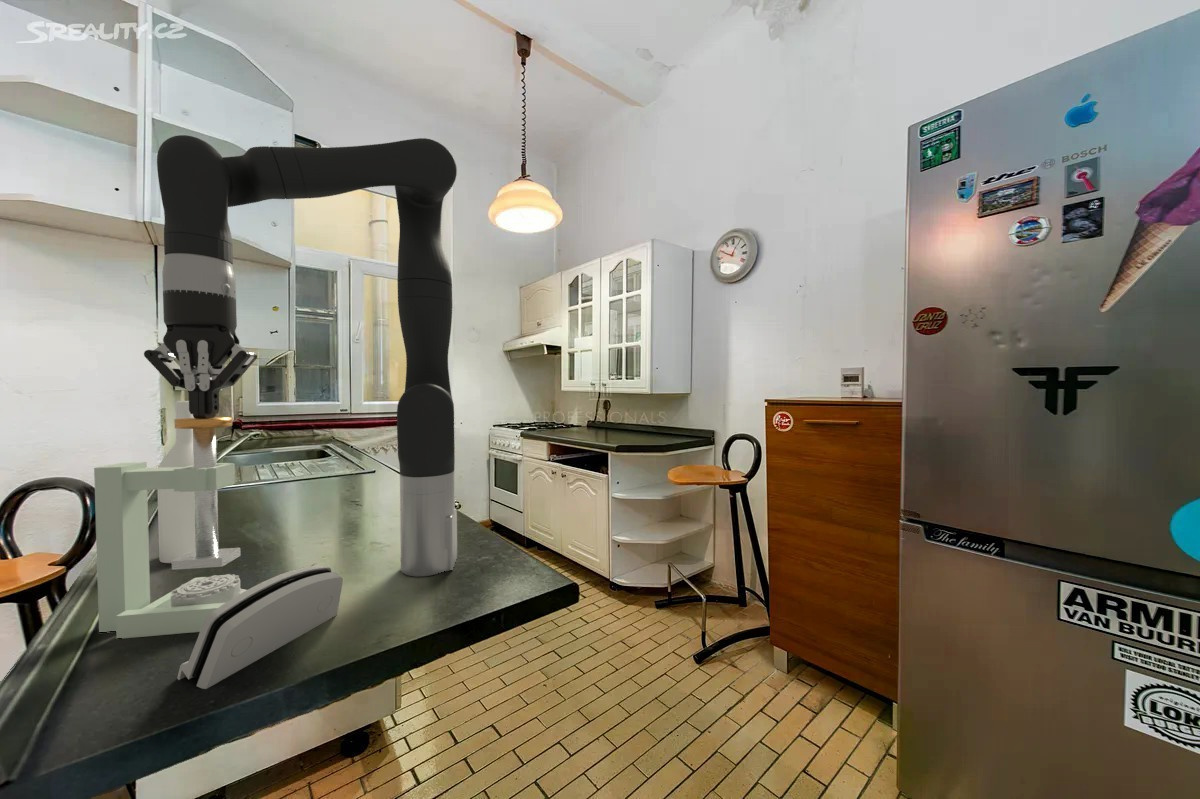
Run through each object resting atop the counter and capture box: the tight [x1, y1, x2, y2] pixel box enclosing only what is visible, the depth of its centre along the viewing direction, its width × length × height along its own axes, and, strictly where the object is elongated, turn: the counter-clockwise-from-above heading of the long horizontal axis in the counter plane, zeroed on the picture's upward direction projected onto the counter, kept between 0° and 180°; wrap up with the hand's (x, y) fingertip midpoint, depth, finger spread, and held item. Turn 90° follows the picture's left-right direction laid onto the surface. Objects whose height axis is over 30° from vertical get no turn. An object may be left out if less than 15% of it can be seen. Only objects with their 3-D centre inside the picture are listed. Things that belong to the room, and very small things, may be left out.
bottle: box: [156, 400, 196, 564], centre depth 85 cm, size 8×8×30 cm
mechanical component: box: [169, 573, 247, 607], centre depth 63 cm, size 10×4×10 cm
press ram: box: [171, 416, 241, 571], centre depth 62 cm, size 6×6×20 cm
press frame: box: [93, 461, 236, 639], centre depth 64 cm, size 20×14×22 cm
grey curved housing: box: [177, 564, 344, 690], centre depth 55 cm, size 17×5×10 cm, turn 163°
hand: (204, 417), depth 61 cm, fingers closed
